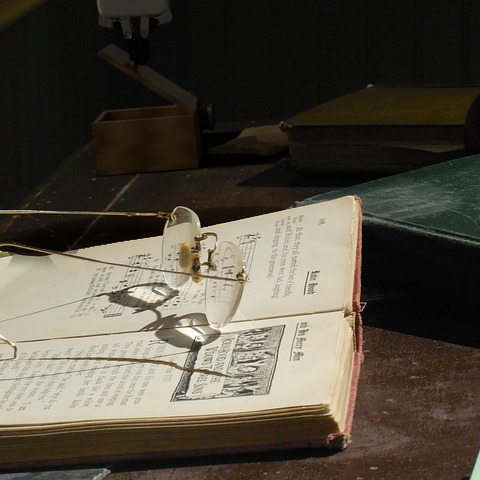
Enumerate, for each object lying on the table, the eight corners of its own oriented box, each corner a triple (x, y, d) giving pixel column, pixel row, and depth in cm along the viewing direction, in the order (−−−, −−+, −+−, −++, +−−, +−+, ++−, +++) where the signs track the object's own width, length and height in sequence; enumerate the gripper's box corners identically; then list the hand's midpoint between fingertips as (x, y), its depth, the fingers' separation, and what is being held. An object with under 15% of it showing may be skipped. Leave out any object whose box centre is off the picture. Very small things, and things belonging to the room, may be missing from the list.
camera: (212, 151, 152) (207, 101, 149) (170, 154, 152) (164, 104, 149) (220, 132, 167) (216, 87, 165) (182, 134, 167) (177, 89, 165)
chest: (99, 175, 139) (91, 123, 137) (109, 159, 150) (103, 110, 148) (198, 168, 140) (193, 115, 138) (202, 152, 151) (197, 103, 149)
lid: (97, 55, 134) (100, 50, 134) (108, 48, 146) (111, 43, 145) (191, 114, 138) (194, 109, 138) (195, 102, 149) (198, 98, 149)
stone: (309, 143, 153) (307, 123, 152) (252, 163, 140) (251, 141, 139) (253, 140, 158) (252, 121, 157) (194, 159, 146) (192, 138, 145)
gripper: (180, -68, 140) (192, 58, 145) (77, -61, 139) (94, 66, 144) (176, -69, 132) (189, 64, 138) (68, -62, 132) (86, 71, 137)
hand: (140, 64), depth 141 cm, fingers closed
